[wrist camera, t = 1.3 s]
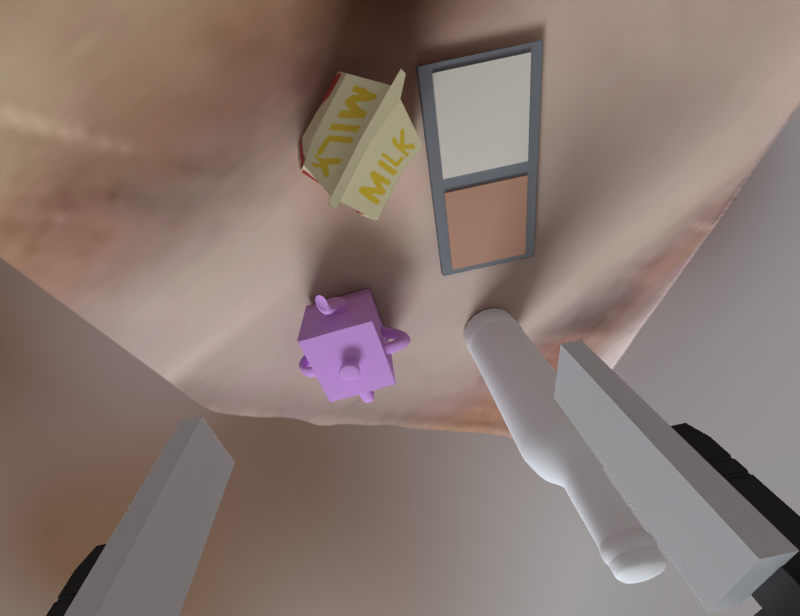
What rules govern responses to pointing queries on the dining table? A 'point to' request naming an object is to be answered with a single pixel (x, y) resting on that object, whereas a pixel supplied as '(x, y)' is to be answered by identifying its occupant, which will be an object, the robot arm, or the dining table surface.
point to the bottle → (558, 442)
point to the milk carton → (359, 142)
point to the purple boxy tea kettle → (348, 346)
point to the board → (483, 154)
